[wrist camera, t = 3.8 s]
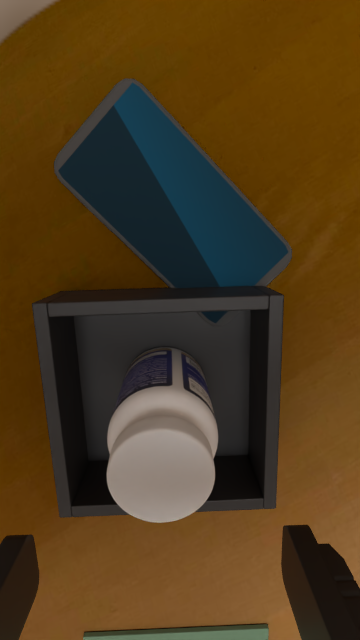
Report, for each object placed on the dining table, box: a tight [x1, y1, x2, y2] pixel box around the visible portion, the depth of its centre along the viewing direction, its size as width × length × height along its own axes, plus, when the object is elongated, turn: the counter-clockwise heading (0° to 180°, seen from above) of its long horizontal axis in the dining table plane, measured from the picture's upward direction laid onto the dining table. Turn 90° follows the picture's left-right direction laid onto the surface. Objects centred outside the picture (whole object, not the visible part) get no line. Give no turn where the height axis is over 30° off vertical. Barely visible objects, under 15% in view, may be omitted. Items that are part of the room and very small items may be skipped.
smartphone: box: [54, 79, 292, 327], centre depth 22 cm, size 8×15×1 cm, turn 46°
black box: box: [32, 285, 284, 517], centre depth 22 cm, size 14×14×5 cm
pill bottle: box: [107, 347, 218, 523], centre depth 19 cm, size 6×6×10 cm
